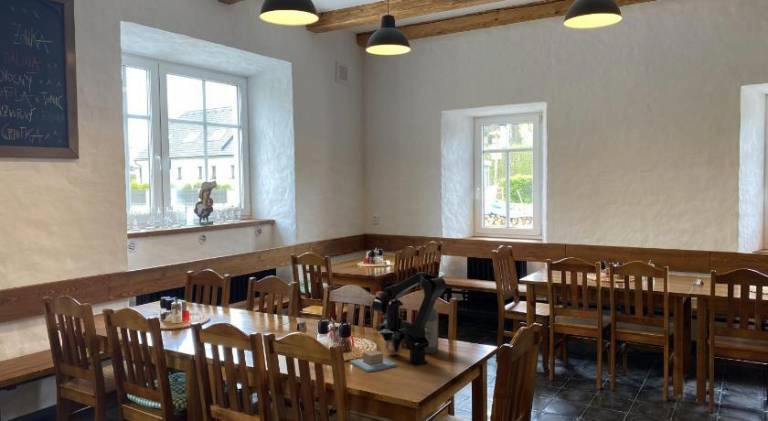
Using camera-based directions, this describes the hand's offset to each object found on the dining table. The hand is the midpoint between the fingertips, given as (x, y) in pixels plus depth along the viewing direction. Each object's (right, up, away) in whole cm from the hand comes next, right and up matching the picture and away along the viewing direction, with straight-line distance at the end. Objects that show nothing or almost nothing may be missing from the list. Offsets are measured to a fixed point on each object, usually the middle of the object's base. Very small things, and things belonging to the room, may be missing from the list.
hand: (393, 350), depth 264 cm
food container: (+1, -1, +19) cm, 19 cm away
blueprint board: (-9, -3, -12) cm, 15 cm away
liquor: (+15, -2, +8) cm, 17 cm away
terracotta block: (0, -1, 0) cm, 1 cm away
